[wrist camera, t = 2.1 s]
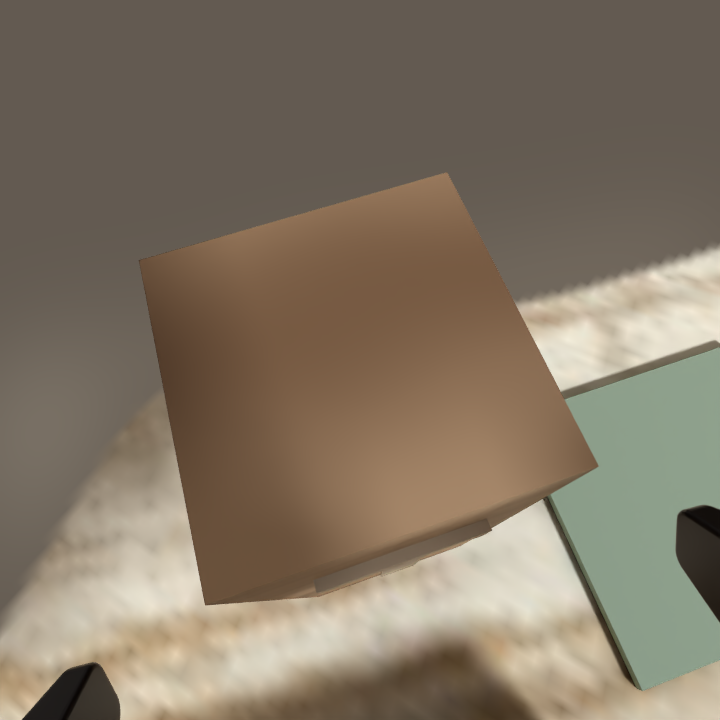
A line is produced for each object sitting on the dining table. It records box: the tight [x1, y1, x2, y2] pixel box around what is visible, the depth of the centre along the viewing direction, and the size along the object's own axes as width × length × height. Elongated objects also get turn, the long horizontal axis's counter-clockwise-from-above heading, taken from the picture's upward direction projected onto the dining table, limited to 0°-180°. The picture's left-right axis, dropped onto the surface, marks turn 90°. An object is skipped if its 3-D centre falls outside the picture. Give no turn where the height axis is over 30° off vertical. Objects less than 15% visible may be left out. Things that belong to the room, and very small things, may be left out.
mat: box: [547, 347, 720, 691], centre depth 18 cm, size 9×9×1 cm
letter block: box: [139, 172, 599, 605], centre depth 13 cm, size 5×5×12 cm
